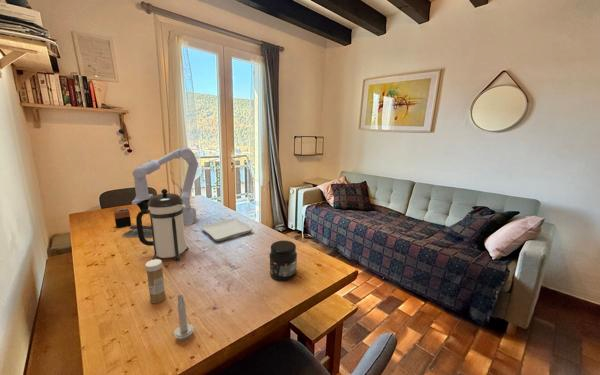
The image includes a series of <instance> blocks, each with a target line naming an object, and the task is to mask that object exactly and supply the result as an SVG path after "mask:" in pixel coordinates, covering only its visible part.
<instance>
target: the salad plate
mask: <svg viewBox="0 0 600 375" xmlns="http://www.w3.org/2000/svg"><path fill="white" fill-rule="evenodd" d="M200 229H201V230H202V231H204V232H205V233H206V234H208V235H209V236H210V237H211V238H212V239H213V240H214V241H215V242H222V241H224V240H229V239H232V238H236V237H238V236H242V235H245V234H248V233H251V231H253V229H254V228H253V227H251V226H250V225H248V224H246V223H245V222H243V221H241V220H240V219H239V218H236V217H234V218H229V219H224V220H221V221H217V222H216V221H215V222H212V223H209V224H205V225H201V226H200Z"/></svg>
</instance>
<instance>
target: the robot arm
mask: <svg viewBox="0 0 600 375" xmlns="http://www.w3.org/2000/svg"><path fill="white" fill-rule="evenodd" d="M174 159H179V160H180V159H183V160H185V161H186V163H187V165H188V167H187V170H186V174H185V177H184V178H185V179H184V182H183V186H182V190H181V192H180V195H179V196H180V197H181V199H182V202H183V203H184V205H185V208H183V223H184V225H185V226H189V225H190V226H192V225H193V224H194V223H195V222H197V221H198V219H197V209H196V208H194V207H191V202H190V199H191V193H192V189H193V186H194V181H195V178H196V174H197V170H198V166H199V163H198V160H197V158H196V154H195V153H194V152H193V151H192V149H190V147H187V146H182V147H181V148H178V149H175V150H173V151H170V152H169V153H167V154H166V155H163V156H162V157H161V158H158V159H148V161H147V162H145V163H144V164H139V166H138V167H137V166H136V167H134V170H132V177H133V180H134V181H133V182H134V188H135V197H134V199H133V200H132V201H131V205H132V206H133V205H134V206H135V205H136V206H137V207H138V208H139V209H140V212H141V211H142V210H149V206H148V202H149V200H150V198H151V197H153V196H154V193H149V186H148V180H147V177H146V176H148V175H151V174H152V173H154V172H155V171H158V170H160V169H161V166H162V165H164V164H166V163H168V162H170V161H172V160H174Z"/></svg>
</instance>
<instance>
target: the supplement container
mask: <svg viewBox="0 0 600 375" xmlns="http://www.w3.org/2000/svg"><path fill="white" fill-rule="evenodd" d="M297 257H298V253H297V245H296V243H294V242H292V241H289V240H278V241H275V242H273V243H272V244H271V245H270V252H269V274H270V277H271V278H273V279H274V280H277V281H281V282H283V281H284V282H285V281H290V280H291V279H293V278H294V277H295V276H296V275H297V273H298V272H297V271H298V270H297V268H298V267H297V263H298V262H297V260H298V258H297Z"/></svg>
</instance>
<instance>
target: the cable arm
mask: <svg viewBox="0 0 600 375" xmlns="http://www.w3.org/2000/svg"><path fill="white" fill-rule="evenodd" d="M142 227H143V229H145V230H152V228H151V224H143V223H142ZM132 229H137V223H133V224H131V226H129V230H132Z"/></svg>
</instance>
